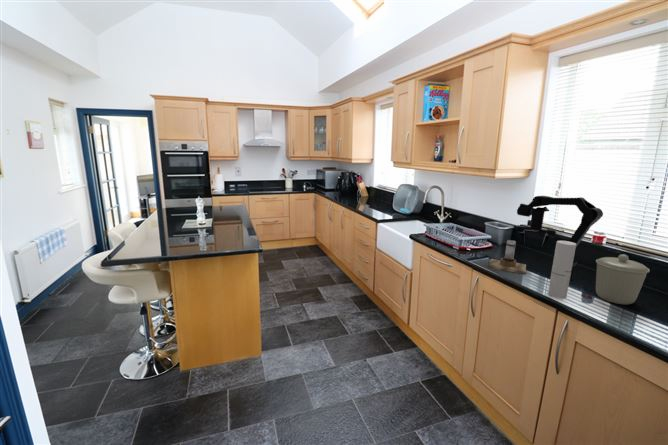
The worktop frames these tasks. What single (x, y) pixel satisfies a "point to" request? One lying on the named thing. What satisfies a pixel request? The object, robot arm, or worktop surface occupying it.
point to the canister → (619, 279)
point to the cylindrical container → (561, 269)
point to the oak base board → (518, 269)
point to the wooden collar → (507, 263)
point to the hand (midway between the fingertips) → (533, 245)
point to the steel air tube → (510, 250)
